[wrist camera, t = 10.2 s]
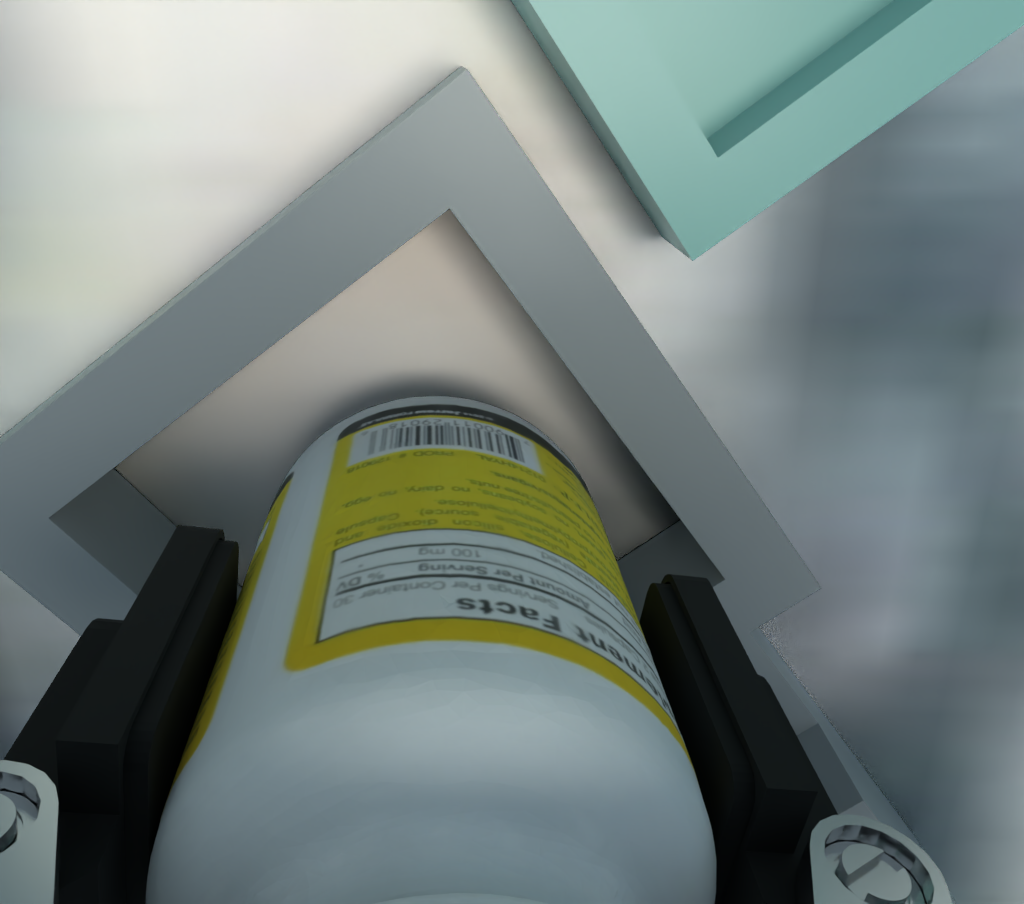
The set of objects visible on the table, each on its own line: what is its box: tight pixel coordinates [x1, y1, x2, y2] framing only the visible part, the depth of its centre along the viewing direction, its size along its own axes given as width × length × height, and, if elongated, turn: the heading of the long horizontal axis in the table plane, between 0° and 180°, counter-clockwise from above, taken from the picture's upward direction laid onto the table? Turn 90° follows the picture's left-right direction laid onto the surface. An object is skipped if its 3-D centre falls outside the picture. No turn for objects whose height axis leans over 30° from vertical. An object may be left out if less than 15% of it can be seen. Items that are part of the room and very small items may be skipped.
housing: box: [0, 67, 956, 904], centre depth 16 cm, size 19×10×4 cm, turn 36°
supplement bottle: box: [146, 396, 716, 904], centre depth 10 cm, size 5×5×10 cm
